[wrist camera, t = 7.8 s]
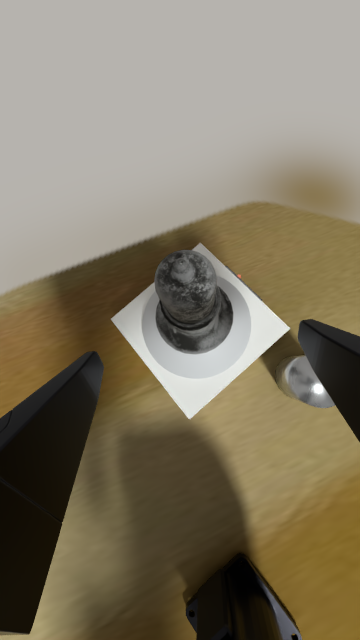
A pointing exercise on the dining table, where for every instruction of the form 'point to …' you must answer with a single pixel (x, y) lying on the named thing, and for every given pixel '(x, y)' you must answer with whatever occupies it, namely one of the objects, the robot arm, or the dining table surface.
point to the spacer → (301, 382)
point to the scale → (207, 368)
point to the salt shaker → (191, 303)
